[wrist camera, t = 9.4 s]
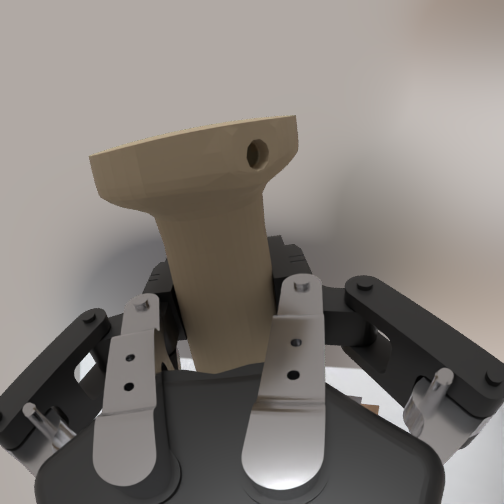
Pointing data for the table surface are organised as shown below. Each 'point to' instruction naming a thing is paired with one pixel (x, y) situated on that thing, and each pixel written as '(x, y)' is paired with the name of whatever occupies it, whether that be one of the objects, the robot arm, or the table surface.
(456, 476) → the table surface
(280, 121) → the handle
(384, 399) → the table surface
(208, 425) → the robot arm
